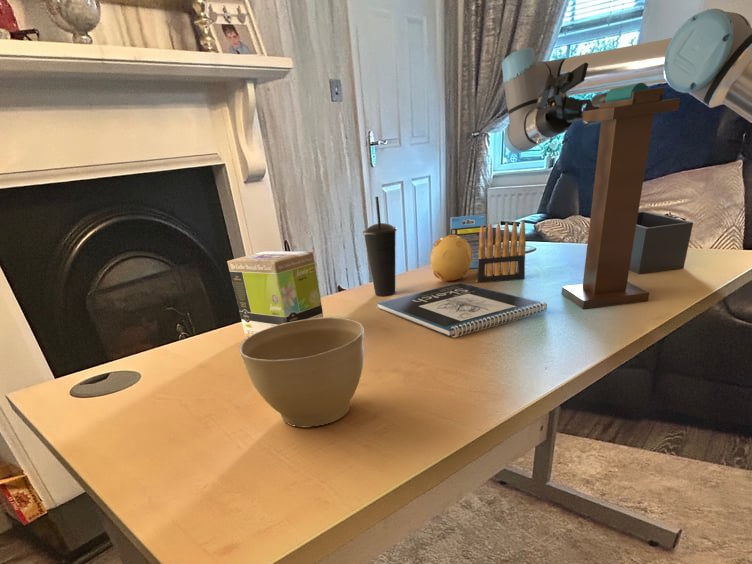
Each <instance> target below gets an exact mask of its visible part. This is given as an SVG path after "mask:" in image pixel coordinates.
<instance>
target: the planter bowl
mask: <svg viewBox="0 0 752 564" xmlns="http://www.w3.org/2000/svg"><path fill="white" fill-rule="evenodd" d="M364 338H365V329H364V326H363V325H362V323H360V322H358V321H357V320H355V319H351V318H346V317H345V318H344V317H333V316H332V317H330V316H329V317H327V316H326V317H324V318H312V319H305V320H299V321H293V322H288V323H283V324H280V325H276V326H273V327H270V328H267V329H264V330H262V331H259V332H257V333H255V334H253V335H251V336H247V337H246V338H245V339H244V340H243V341H242V342H241V343H240V345H239V347H238V351H239V355H240V357H241V359H242V361H243V363H244V365H245V369H246V371H247V375H248V376H249V378H250V380H251V383H252V384H253V386H254V388H255V389H256V391H257V392H258V393H259V395H260V396H261V397H262V399H263V400H264V401H265V402H266V403H267V404H268V405H269V406H270V407H271V408H272V409H273V410H274V411H276V412H277V413H278V414H280V416H281V418H282V420H283V421H284V423H286V422H287V423H289V424H291V425H295V426H310V427H309V428H312V427H311V426H317V427H319V426H318V425H322V426H325V425H324V424H326V425H329V424H332V423H334V422H336V421H339V420H340V419H341V418H343V417H344V416H346V415H347V414H348V412H349V411H350V408H351V401H352V399H353V397H354V395H355V394H356V391H357V388H358V387H359V383H360V381H361V377H362V374H363V373H362V372H363V367H364V362H365V361H364V358H365V356H364V355H365V347H364ZM287 423H286V424H287ZM328 423H329V424H328ZM289 424H288V425H289ZM291 425H290V426H291ZM295 426H294V427H295Z"/></svg>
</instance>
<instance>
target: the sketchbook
mask: <svg viewBox="0 0 752 564" xmlns="http://www.w3.org/2000/svg"><path fill="white" fill-rule="evenodd" d="M377 309H380V310H382V311H385V312H387V313H390V314H391V315H395V316H397V317H399V318H402V319H405V320H407V321H410V322H412V323H414V324H418V325H420V326H423V327H425V328H427V329H430V330H433V331H435V332H437V333H440V334H443V335H444V336H448V337H452V338H457V337H461V336H465V335H469V334H473V333H474V332H475V333H477V332H479V331H482V330H486V329H490V328H494V327H498V326H502V325H505V324H508V323H513V322H516V321H520V320H523V319H526V318H527V319H528V318H530V317H531V318H532V317H534V316H536V315H537V316H538V315H541V314H544V313H546V312H547V310H548V303H546V302H542V301H538V300H533V299H529V298H526V297H521V296H517V295H513V294H509V293H505V292H501V291H497V290H492V289H488V288H484V287H480V286H476V285H472V284H468V283H463V282H457V283H453V284H449V285H445V286H442V287H436V288H432V289H429V290H425V291H421V292H416V293H411V294H407V295H404V296H399V297H396V298H391V299H387V300H384V301H379V302H377Z"/></svg>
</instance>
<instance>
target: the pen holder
mask: <svg viewBox="0 0 752 564" xmlns="http://www.w3.org/2000/svg"><path fill="white" fill-rule="evenodd" d="M693 225H694V222H693V221H689V220H686V219H685V220H684V219H682V218H681V219H680V218H677V217H671V216H668V215H663V214H658V213H654V212H651V211H645V210H643V211H638V218H637V224H636V230H635V236H634V243H633V249H632V255H631V262H630V268H629V271H631V272H633V273H635V274H638V275H643V274H649V273H650V274H651V273H658V272H665V271H666V272H667V271H673V270H680V269H681V270H682V269H685V263H686V260H687V254H688V250H689V245H690V241H691V236H692V230H693Z"/></svg>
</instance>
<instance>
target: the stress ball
mask: <svg viewBox="0 0 752 564" xmlns="http://www.w3.org/2000/svg"><path fill="white" fill-rule="evenodd" d="M429 261H430V266H431V269H432V272H433V273H432V274H433V275H434V276H435V277H436V278H437V279H438V280H439V281H447V282H454V281H456V280H459V279H461V278H462V277H463V276H465V275H466V273H468V271H469V267H470V265H471V261H472V250H471V248H470V246H469V244H468V242H467V241H466V240H465V239H463V238H461V237H459V236H457V235H451V234H448V235H446V236H444V237H442V238H438V239H437V240H436V242H435V243H434V244H433V247H432V250H431V253H430V260H429Z"/></svg>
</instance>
